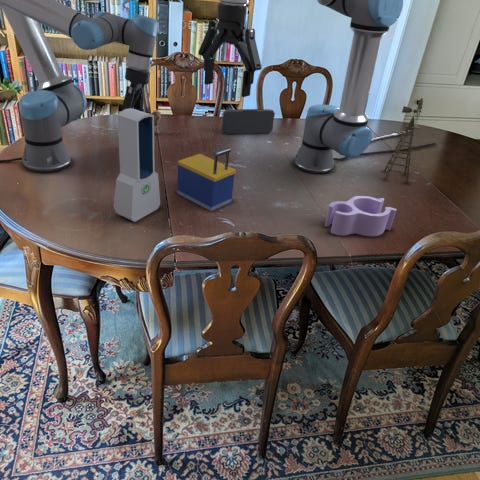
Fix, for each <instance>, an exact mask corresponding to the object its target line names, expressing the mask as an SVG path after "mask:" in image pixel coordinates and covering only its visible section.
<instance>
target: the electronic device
mask: <svg viewBox="0 0 480 480" xmlns="http://www.w3.org/2000/svg"><path fill="white" fill-rule="evenodd" d="M151 114H152V113H148V112H145V111H144V112H142V111H139V110H136V109H134V108H133V109H132V108H129V109H125V110H123V111H121V110H120V112H119V113H117V115H116V117H117V134H118V137H117V139H118V154H119V155H118V156H119V174H118V176H117V177H116V180H115V190H114V198H113V205H112V206H113V209H114V212H115V213H116V214H117V215H118V216H120V217H123V218H124V219H127V220H129V221H131V222H133V223H136V222H137V221H139V220H141V219H142V218H145V217H146V216H148V215H150V214H151V213H153V212H155V211H157V210H158V209H159V208H160V206H161V193H160V181H159V179H160V178H159V174H158V172H157V171H155V126H154V115H151Z"/></svg>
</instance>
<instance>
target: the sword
mask: <svg viewBox="0 0 480 480" xmlns="http://www.w3.org/2000/svg"><path fill="white" fill-rule="evenodd" d="M400 132H401V131H396V132H395V133H390V134H386V135H381V136H378V137H374V138H373V137H372V139H371V142H370V143H372V142H374V141H378V140H381V139H385V138H390V137H394V136H402V135H403V134H404V133H400ZM407 134H410V133H409V132H408V133H407Z"/></svg>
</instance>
